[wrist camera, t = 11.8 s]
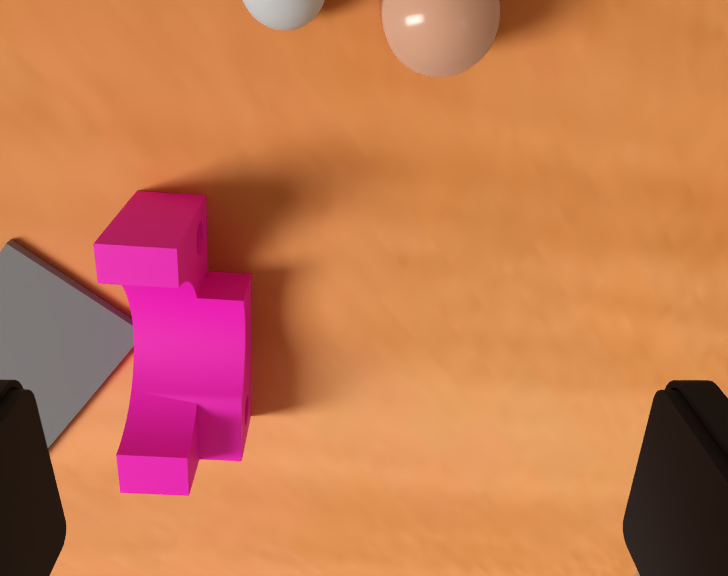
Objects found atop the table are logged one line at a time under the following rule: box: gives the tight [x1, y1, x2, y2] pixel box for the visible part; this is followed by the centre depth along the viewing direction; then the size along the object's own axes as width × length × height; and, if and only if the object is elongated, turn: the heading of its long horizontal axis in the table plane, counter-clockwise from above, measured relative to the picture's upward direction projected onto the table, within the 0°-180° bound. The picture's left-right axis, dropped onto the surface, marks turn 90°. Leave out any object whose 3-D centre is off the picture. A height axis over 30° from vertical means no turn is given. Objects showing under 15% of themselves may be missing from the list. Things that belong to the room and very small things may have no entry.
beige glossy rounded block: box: [380, 0, 500, 77], centre depth 32 cm, size 5×5×5 cm
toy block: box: [94, 191, 251, 496], centre depth 38 cm, size 15×6×8 cm, turn 176°
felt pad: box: [0, 240, 134, 448], centre depth 43 cm, size 17×9×1 cm, turn 139°
